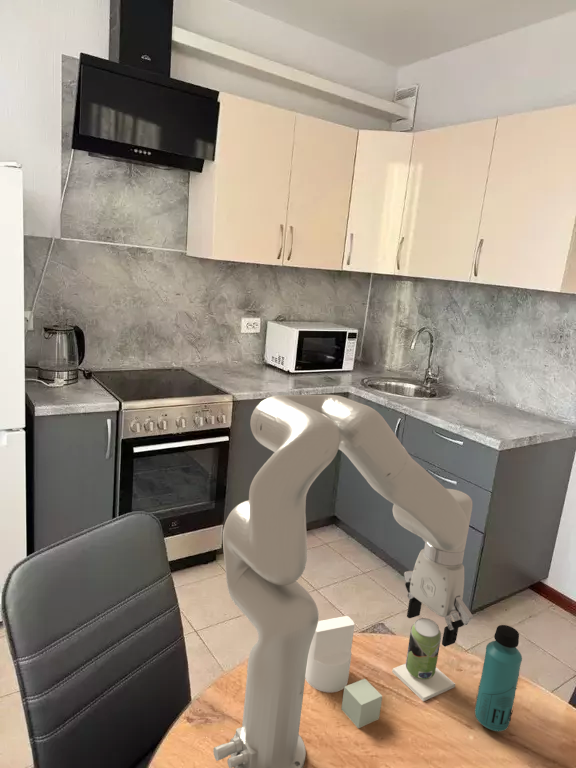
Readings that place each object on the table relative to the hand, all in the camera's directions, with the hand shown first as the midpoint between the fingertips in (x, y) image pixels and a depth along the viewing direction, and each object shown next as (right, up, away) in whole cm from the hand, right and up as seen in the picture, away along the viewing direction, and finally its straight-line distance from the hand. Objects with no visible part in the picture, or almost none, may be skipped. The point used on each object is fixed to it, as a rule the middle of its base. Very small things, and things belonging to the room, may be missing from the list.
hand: (430, 629), depth 113 cm
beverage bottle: (+9, -15, -8) cm, 19 cm away
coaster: (-1, -11, +2) cm, 12 cm away
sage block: (-15, -12, -8) cm, 21 cm away
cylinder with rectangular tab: (-21, -10, +1) cm, 23 cm away
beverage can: (-2, -11, +3) cm, 11 cm away
